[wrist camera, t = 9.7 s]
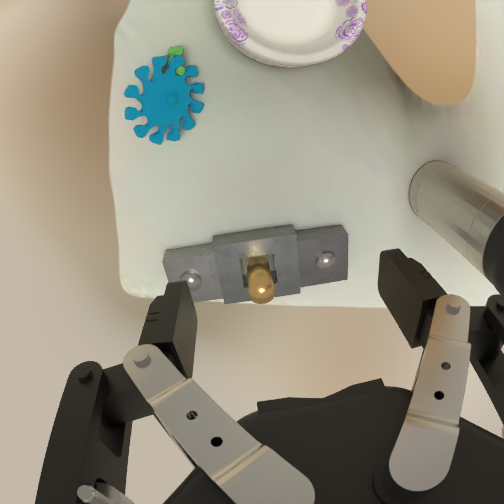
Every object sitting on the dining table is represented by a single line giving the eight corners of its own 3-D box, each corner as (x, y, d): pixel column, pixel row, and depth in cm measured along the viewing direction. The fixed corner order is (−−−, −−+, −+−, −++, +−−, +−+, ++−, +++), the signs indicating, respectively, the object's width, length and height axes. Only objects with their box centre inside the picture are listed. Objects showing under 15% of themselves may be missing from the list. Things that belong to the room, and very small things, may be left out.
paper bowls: (356, 60, 33) (384, 56, 26) (233, 81, 34) (233, 79, 27) (325, -45, 25) (345, -68, 18) (202, -28, 26) (196, -52, 19)
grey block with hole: (341, 217, 43) (349, 228, 39) (341, 274, 47) (348, 287, 44) (164, 243, 43) (159, 256, 40) (180, 297, 47) (177, 312, 44)
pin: (266, 248, 44) (273, 281, 37) (269, 267, 46) (276, 301, 38) (244, 251, 44) (247, 285, 37) (247, 270, 46) (251, 305, 39)
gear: (195, 150, 36) (119, 140, 28) (166, 142, 39) (96, 133, 31) (220, 61, 32) (149, 33, 24) (188, 61, 35) (122, 39, 27)
